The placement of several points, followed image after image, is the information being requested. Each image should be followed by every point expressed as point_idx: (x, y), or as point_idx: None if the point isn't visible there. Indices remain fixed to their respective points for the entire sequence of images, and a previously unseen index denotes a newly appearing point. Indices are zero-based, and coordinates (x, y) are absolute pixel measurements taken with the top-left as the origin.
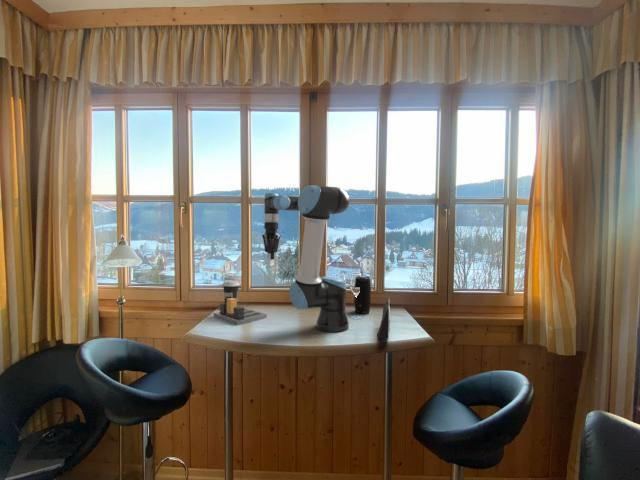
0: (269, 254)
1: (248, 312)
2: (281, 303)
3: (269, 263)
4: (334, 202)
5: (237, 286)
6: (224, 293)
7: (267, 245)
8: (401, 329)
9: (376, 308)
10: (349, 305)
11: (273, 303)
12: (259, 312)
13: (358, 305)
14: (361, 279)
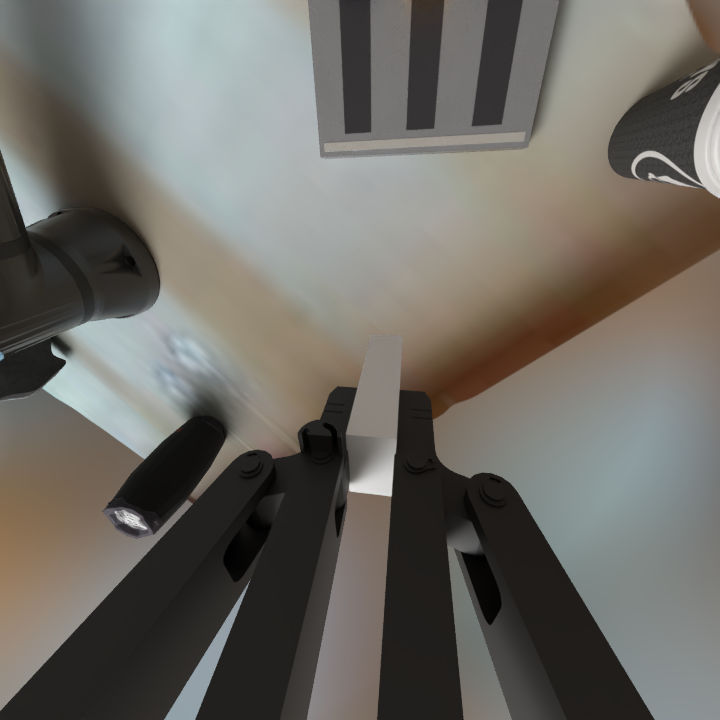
0: (363, 424)
1: (408, 87)
2: (465, 373)
3: (375, 345)
4: None
5: (697, 141)
6: None
7: (441, 651)
8: None
9: None
10: None
11: (494, 353)
12: (365, 143)
13: (184, 429)
14: (112, 503)
